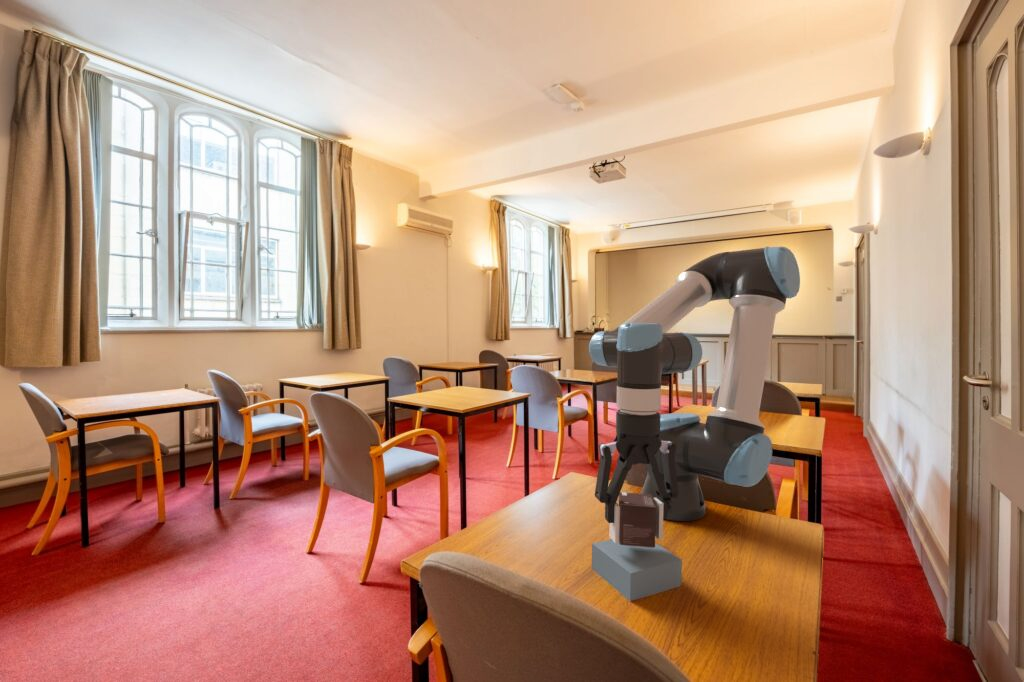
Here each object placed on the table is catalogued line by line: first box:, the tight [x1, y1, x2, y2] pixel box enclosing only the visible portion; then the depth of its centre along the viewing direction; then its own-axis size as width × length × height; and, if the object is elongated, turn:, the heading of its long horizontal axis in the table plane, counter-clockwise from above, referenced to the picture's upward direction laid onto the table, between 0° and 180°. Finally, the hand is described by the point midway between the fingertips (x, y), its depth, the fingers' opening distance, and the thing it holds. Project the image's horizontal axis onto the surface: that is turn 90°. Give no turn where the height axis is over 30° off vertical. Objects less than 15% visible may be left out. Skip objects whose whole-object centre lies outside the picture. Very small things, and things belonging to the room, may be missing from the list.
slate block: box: [591, 538, 683, 602], centre depth 83 cm, size 11×11×5 cm
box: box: [618, 492, 656, 548], centre depth 83 cm, size 6×6×7 cm
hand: (635, 537), depth 83 cm, fingers closed on box, 7 cm apart
